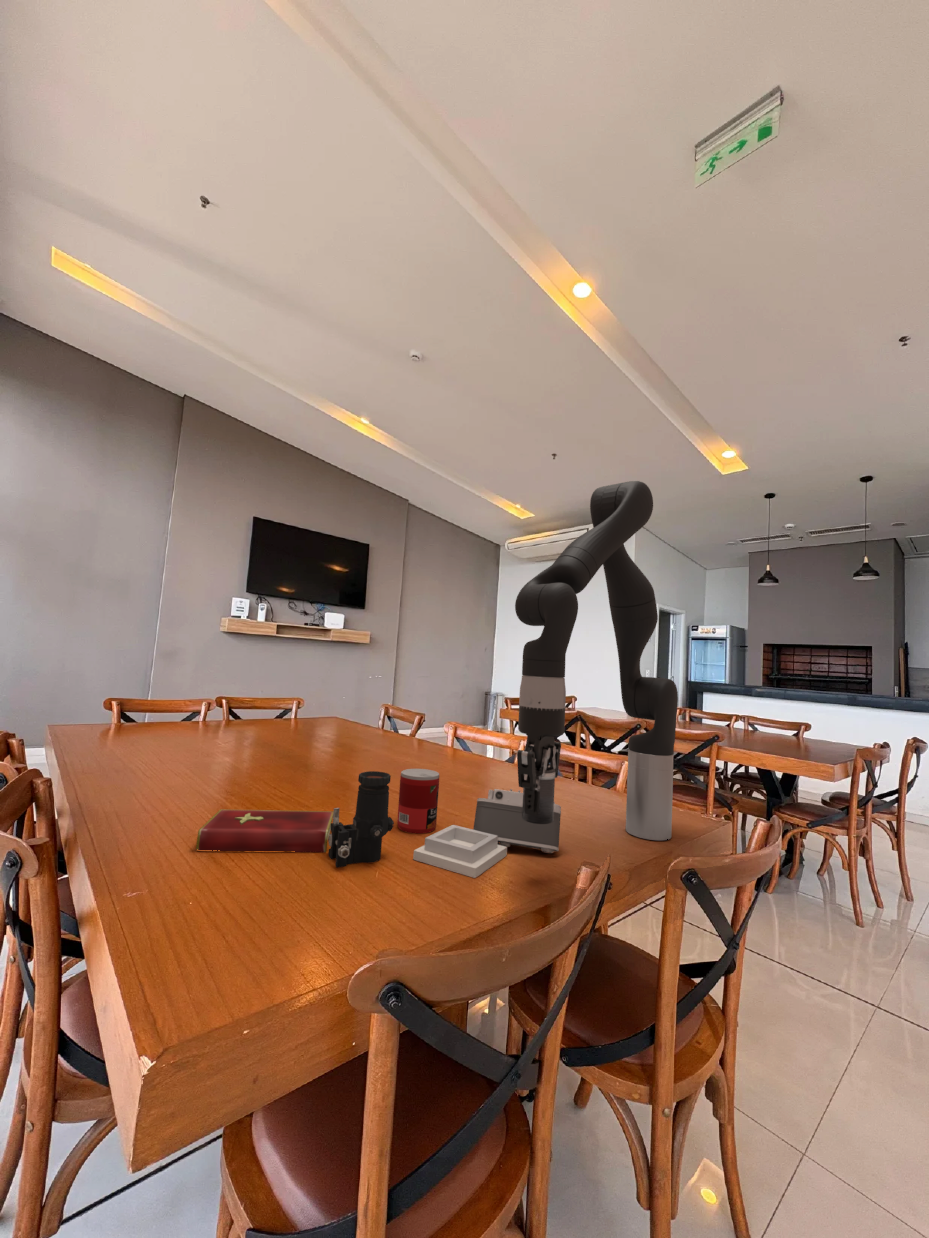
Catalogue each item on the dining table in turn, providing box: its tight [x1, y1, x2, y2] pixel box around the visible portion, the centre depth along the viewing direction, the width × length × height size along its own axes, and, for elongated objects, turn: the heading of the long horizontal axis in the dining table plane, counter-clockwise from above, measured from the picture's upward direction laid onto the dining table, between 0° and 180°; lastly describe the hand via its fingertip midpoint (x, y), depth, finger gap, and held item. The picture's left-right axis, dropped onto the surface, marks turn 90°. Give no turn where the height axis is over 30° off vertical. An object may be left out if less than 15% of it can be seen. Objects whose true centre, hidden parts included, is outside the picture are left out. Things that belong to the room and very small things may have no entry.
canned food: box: [396, 768, 440, 835], centre depth 104 cm, size 8×8×11 cm
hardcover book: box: [195, 808, 334, 853], centre depth 92 cm, size 12×21×4 cm, turn 99°
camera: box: [473, 788, 562, 854], centre depth 98 cm, size 9×16×10 cm, turn 84°
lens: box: [522, 767, 556, 824], centre depth 82 cm, size 5×5×8 cm
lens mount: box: [412, 824, 508, 879], centre depth 89 cm, size 12×12×4 cm
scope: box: [327, 770, 394, 868], centre depth 86 cm, size 8×14×10 cm
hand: (538, 809), depth 82 cm, fingers closed on lens, 5 cm apart
